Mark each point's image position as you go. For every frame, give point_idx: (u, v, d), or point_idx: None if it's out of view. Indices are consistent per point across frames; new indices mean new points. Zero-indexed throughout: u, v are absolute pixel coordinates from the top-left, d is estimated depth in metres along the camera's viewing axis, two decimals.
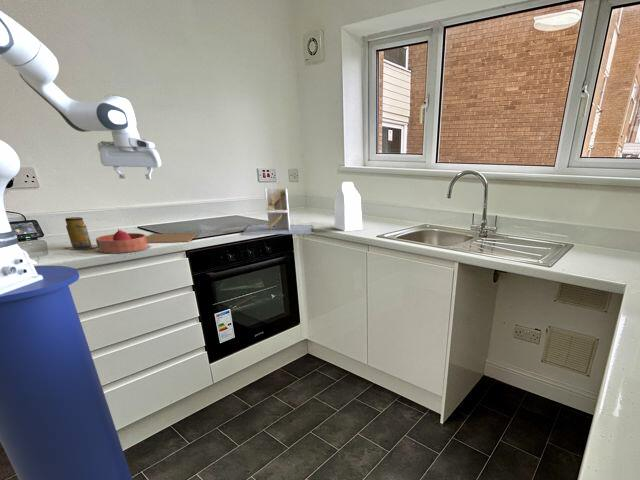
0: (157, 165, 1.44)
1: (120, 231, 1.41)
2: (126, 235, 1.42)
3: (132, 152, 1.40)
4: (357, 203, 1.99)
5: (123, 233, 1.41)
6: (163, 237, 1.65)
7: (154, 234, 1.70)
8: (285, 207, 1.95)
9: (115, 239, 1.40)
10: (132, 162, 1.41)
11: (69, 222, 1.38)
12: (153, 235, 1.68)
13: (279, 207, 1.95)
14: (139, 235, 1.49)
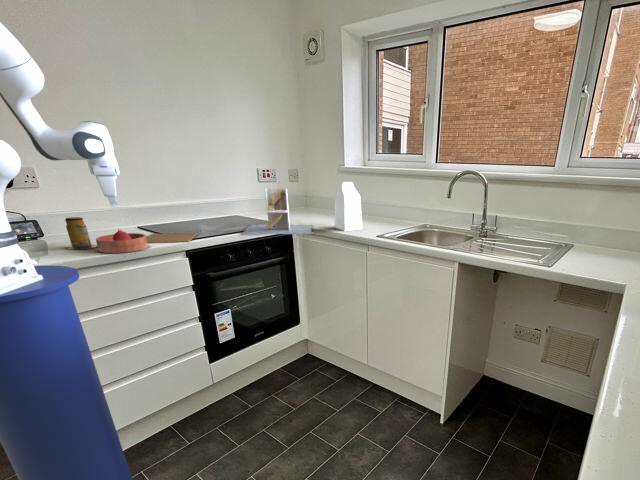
0: (104, 194, 1.28)
1: (120, 231, 1.41)
2: (126, 235, 1.42)
3: None
4: (357, 203, 1.99)
5: (123, 233, 1.41)
6: (163, 237, 1.65)
7: (154, 234, 1.70)
8: (285, 207, 1.95)
9: (115, 239, 1.40)
10: None
11: (69, 222, 1.38)
12: (153, 235, 1.68)
13: (279, 207, 1.95)
14: (139, 235, 1.49)
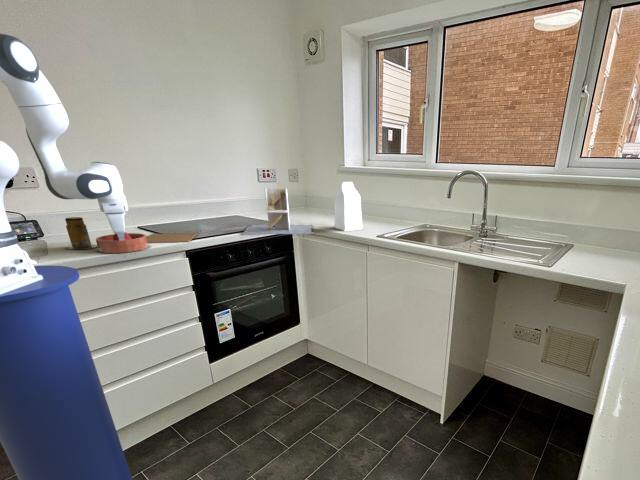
0: (113, 231, 1.33)
1: None
2: (126, 235, 1.42)
3: None
4: (356, 203, 1.99)
5: None
6: (163, 237, 1.65)
7: (154, 234, 1.70)
8: (285, 207, 1.95)
9: (115, 239, 1.40)
10: None
11: (69, 222, 1.38)
12: (153, 235, 1.68)
13: (279, 207, 1.95)
14: (139, 235, 1.49)
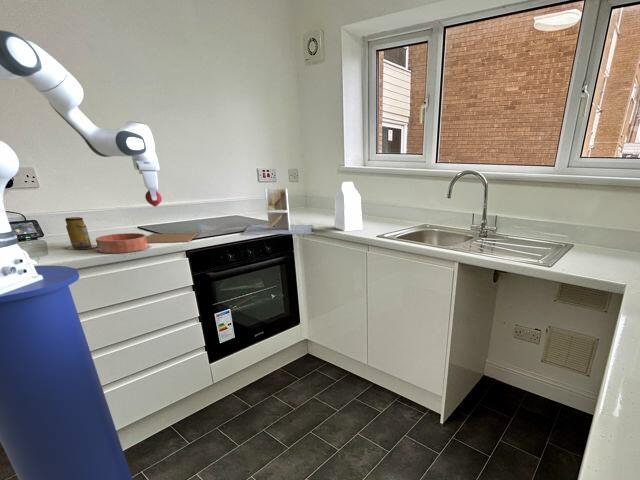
0: (147, 187, 1.42)
1: None
2: (157, 193, 1.51)
3: None
4: (356, 203, 1.99)
5: None
6: (163, 237, 1.65)
7: (154, 234, 1.70)
8: (285, 207, 1.95)
9: (147, 197, 1.49)
10: (145, 184, 1.48)
11: (69, 222, 1.38)
12: (153, 235, 1.68)
13: (279, 207, 1.95)
14: (139, 235, 1.49)
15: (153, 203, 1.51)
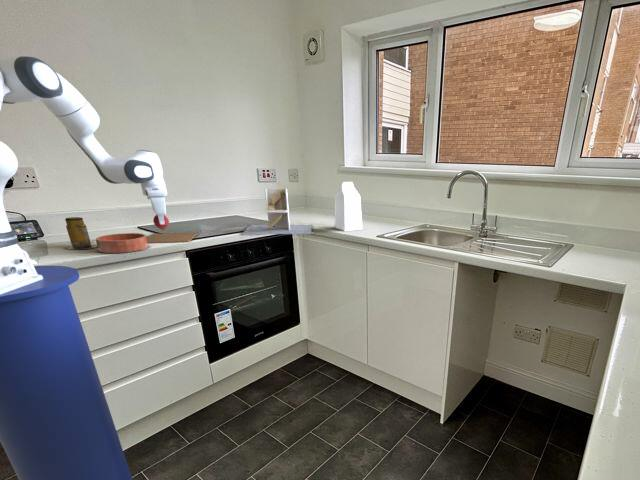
0: None
1: None
2: (165, 217, 1.56)
3: None
4: (356, 203, 1.99)
5: None
6: (163, 237, 1.65)
7: (154, 234, 1.70)
8: (285, 207, 1.95)
9: (155, 221, 1.54)
10: (153, 208, 1.53)
11: (69, 222, 1.38)
12: (153, 235, 1.68)
13: (279, 207, 1.95)
14: (139, 235, 1.49)
15: (161, 227, 1.55)
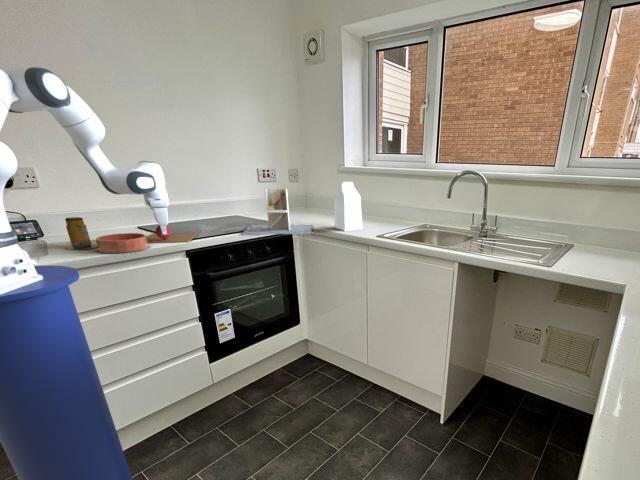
0: (158, 223, 1.48)
1: None
2: (167, 228, 1.57)
3: None
4: (356, 203, 1.99)
5: None
6: None
7: (154, 234, 1.70)
8: (285, 207, 1.95)
9: (158, 232, 1.55)
10: None
11: (69, 222, 1.38)
12: (153, 235, 1.68)
13: (279, 207, 1.95)
14: (139, 235, 1.49)
15: (163, 237, 1.57)
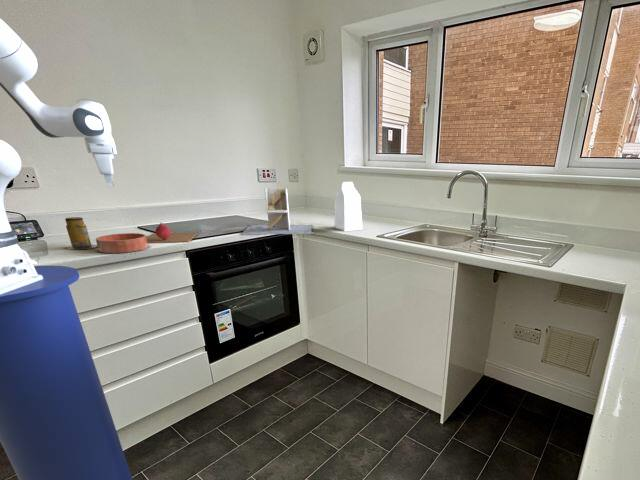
0: (100, 172, 1.29)
1: (162, 224, 1.56)
2: (167, 228, 1.57)
3: None
4: (356, 203, 1.99)
5: (165, 226, 1.57)
6: None
7: (154, 234, 1.70)
8: (285, 207, 1.95)
9: (158, 232, 1.55)
10: None
11: (69, 222, 1.38)
12: (153, 235, 1.68)
13: (279, 207, 1.95)
14: (139, 235, 1.49)
15: (163, 237, 1.57)
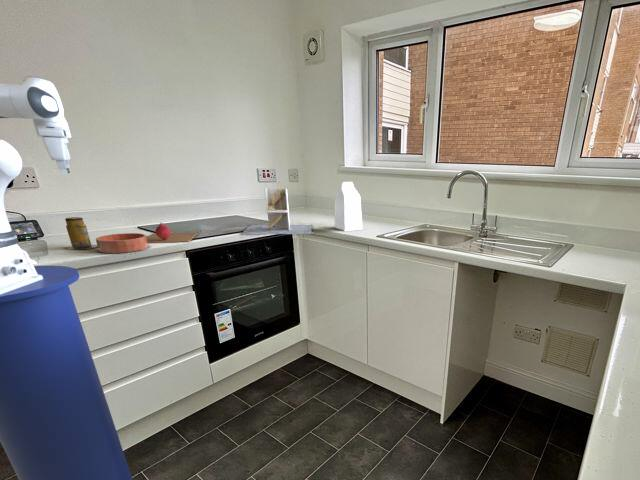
0: (51, 157, 1.18)
1: (162, 224, 1.56)
2: (167, 228, 1.57)
3: None
4: (356, 203, 1.99)
5: (165, 226, 1.57)
6: None
7: (154, 234, 1.70)
8: (285, 207, 1.95)
9: (158, 232, 1.55)
10: None
11: (69, 222, 1.38)
12: (153, 235, 1.68)
13: (279, 207, 1.95)
14: (139, 235, 1.49)
15: (163, 237, 1.57)
